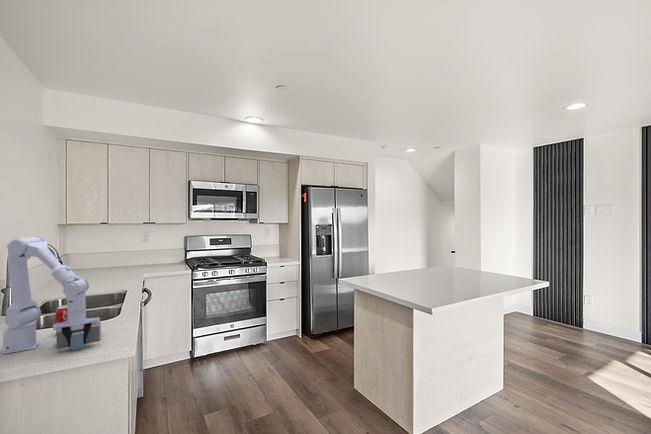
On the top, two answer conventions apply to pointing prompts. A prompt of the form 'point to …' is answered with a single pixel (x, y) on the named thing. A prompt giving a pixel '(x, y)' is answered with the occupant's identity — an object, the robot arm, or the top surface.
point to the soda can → (61, 314)
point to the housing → (92, 335)
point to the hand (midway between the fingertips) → (77, 344)
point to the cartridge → (77, 340)
